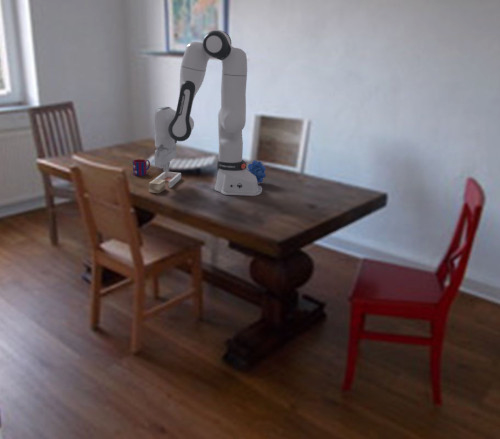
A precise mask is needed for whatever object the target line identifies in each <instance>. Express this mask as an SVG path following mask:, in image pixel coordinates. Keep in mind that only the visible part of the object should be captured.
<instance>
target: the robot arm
mask: <svg viewBox="0 0 500 439" xmlns="http://www.w3.org/2000/svg"><path fill="white" fill-rule="evenodd" d="M211 58H214V59H217V60H220V61H221V64H222V69H221V85H220V109H219V111H218V115H217V117H218V118H217V119H218V120H217V121H218V122H217V123H218V124H217V125H218V127H217V128H218V158H217V161H216V162H217V163H216V170H217V176H216V181H215V185H214V190H215V191H216V192H219V193H221V194H222V195H224V196H225V195H227V196H229V195H230V196H250V197H256V196H258V195H260V194H261V193H262V192H263V188H262V186H261V185H259V184H258V183H259V182H258V183H257V178H256V176H255V175H253V174H252V173H251V172H250V171H249V170H250V169H248V168H247V161H245V160H243V149H244V146H243V145H244V143H243V142H244V141H243V130H244V128H245V126H246V121H247V120H246V118H247V103H246V102H247V99H246V98H247V97H246V96H247V94H246V93H247V80H248V61H247V60H248V59H247V53H246V52H245V51H244V50H243V49H242V48H239V47H234V46H232V40H231V37H230V35H229V34H228V33H227V32H225V31H223V30H221V29H214V30H211V31H209V32H207V33H206V34H205V35H204V37H203V40H202V42H200V41H191V42H189V43H188V44H187V45H186V47H185V50H184V52H183V55H182V60H181V65H180V72H179V95H178V101H177V105H176V110H174V109H173V108H172V107H170V106H163V107H162V106H161V107H159V108H157V109H156V110H155V111H154V114H153V127H154V131H155V132H154V146H155V148H156V150H154V166H155V167H156V168H163V169H162V170H163V172H170V165H171V161H173V159H175V158H176V157H177V143H178V142H184V141H187V140H188V139H189V138H190V136H191V135H192V131H193V129H194V128H195V121H194V119H193V117H191V113H192V110H193V103H194V100H195V97H196V95H197V93H198V92H199V91H200V89H201V87H202V85H203V82H204V79H205V76H206V74H207V73H206V71H207V68H208V63H209V60H210V59H211Z"/></svg>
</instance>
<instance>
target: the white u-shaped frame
mask: <svg viewBox="0 0 500 439" xmlns="http://www.w3.org/2000/svg"><path fill="white" fill-rule="evenodd" d="M154 179H160V180H165V182H168V188H169V189H171V188H173V186H175V185H176V184H177V183H178V182H180V180H181V179H182V173H181V172H173V171H168V172H164V171H163V172H162V173H161V174H159V175H158V176H156V177H155V178H154Z"/></svg>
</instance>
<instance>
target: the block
mask: <svg viewBox="0 0 500 439" xmlns="http://www.w3.org/2000/svg"><path fill="white" fill-rule="evenodd" d="M164 190H166V181H165V180H160V179H155V178H154V179H153V180H151V181H150V182H148V192H149V193H152V194H153V193H154V194H155V193H156V194H160V193H161V192H164Z"/></svg>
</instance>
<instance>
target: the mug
mask: <svg viewBox="0 0 500 439" xmlns="http://www.w3.org/2000/svg"><path fill="white" fill-rule="evenodd" d="M147 163H148V164H147ZM150 167H151V162H150V160H148V159H141V158H139V159H134V160H132V174H133V175H134V176H139V177H143V176H146V175H147V171H148V170H149V169H150Z"/></svg>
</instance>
